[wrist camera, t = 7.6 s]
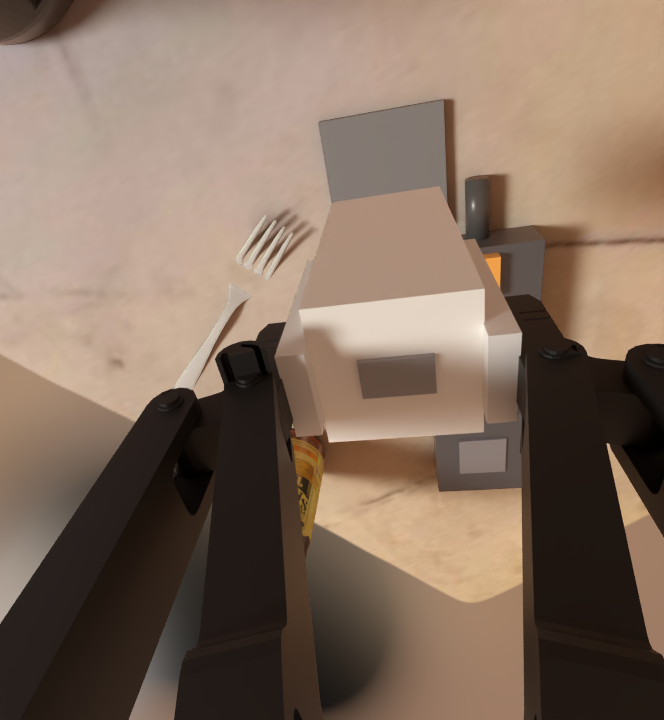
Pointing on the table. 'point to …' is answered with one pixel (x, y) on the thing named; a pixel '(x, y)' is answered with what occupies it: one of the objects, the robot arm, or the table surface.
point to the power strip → (514, 277)
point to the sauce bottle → (308, 479)
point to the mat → (385, 151)
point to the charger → (395, 320)
